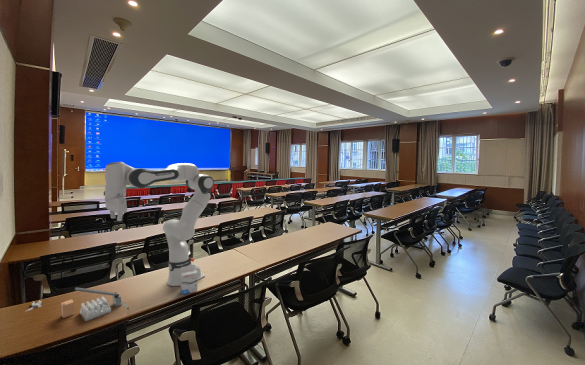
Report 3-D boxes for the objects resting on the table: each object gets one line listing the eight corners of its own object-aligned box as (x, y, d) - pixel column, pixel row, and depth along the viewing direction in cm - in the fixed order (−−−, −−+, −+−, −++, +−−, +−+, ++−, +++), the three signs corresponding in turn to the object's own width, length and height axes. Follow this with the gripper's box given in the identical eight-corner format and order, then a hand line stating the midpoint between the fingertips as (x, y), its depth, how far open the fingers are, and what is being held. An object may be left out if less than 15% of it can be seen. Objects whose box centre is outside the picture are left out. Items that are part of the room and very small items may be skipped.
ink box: (182, 295, 142) (181, 270, 141) (180, 291, 146) (180, 267, 145) (197, 291, 147) (197, 267, 146) (195, 287, 151) (195, 264, 150)
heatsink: (116, 300, 134) (116, 291, 134) (123, 307, 128) (122, 298, 128) (80, 313, 122) (79, 303, 122) (85, 321, 116) (85, 311, 116)
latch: (72, 311, 123) (72, 297, 123) (75, 316, 119) (75, 301, 119) (61, 315, 120) (61, 300, 120) (64, 320, 116) (63, 305, 116)
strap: (116, 294, 131) (117, 292, 132) (118, 297, 129) (119, 294, 129) (74, 289, 118) (75, 286, 118) (76, 291, 115) (77, 288, 116)
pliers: (17, 317, 118) (23, 303, 129) (18, 320, 118) (23, 306, 130) (47, 310, 124) (49, 297, 136) (47, 313, 125) (49, 300, 136)
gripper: (130, 194, 125) (130, 221, 126) (116, 191, 138) (116, 216, 139) (115, 195, 121) (116, 223, 121) (102, 192, 133) (102, 217, 134)
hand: (116, 219), depth 130 cm, fingers open, 8 cm apart
